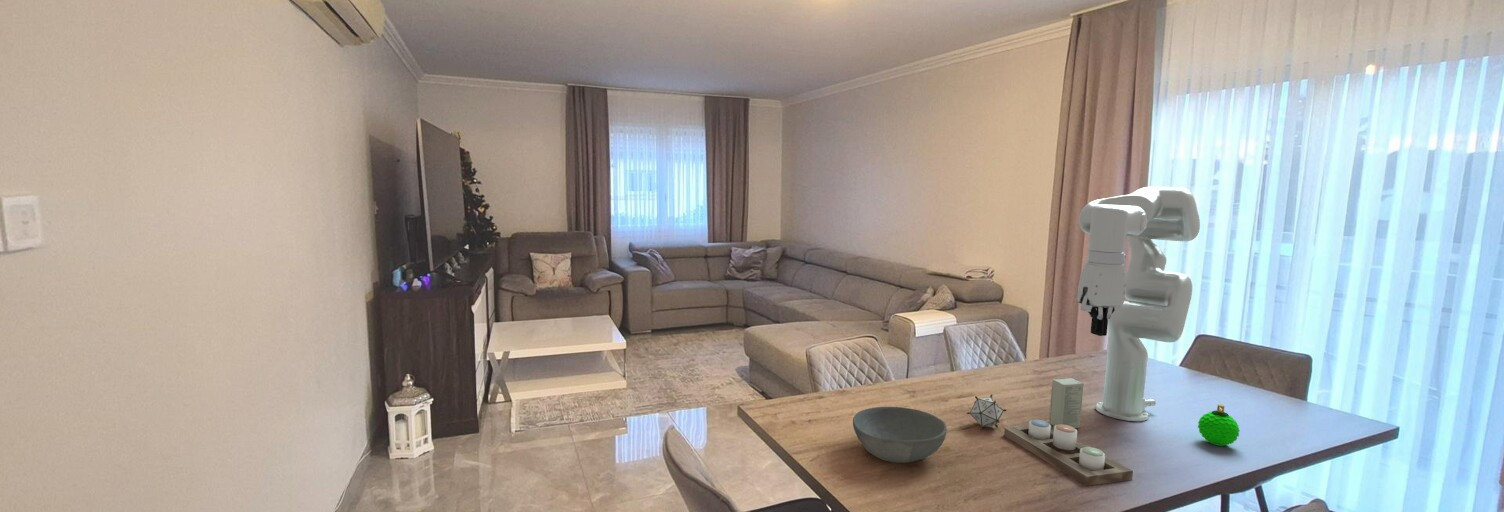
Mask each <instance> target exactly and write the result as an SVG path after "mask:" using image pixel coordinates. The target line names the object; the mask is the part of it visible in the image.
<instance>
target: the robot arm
mask: <svg viewBox="0 0 1504 512" xmlns="http://www.w3.org/2000/svg"><path fill="white" fill-rule="evenodd" d="M1078 225H1079V228H1080V230H1081V231H1083V233H1085V234H1087V235H1089V239H1088V249H1087V259H1086V263H1084V264H1083V267H1082V268H1081V269H1082V270H1081V273H1080V277H1079V281H1078V288H1077V294H1076V295H1077V296H1076V302H1077V303H1079V304H1081V306H1080V310H1081V311H1085V312H1087V313H1088V314H1089V317H1090V318H1091V323H1090V334H1092V335H1095V336H1099V337H1102V336H1103V337H1105V336H1107V338H1108V339H1107V340H1108V341H1107V351H1106V353H1107V355H1106V364H1105V373H1104V375H1105V376H1104V384H1103V395H1102V401H1099V402H1097V403H1096V404H1095V409H1096V411H1097V412H1098V413H1100V414H1103V415H1104V416H1107V417H1110V418H1113V419H1117V420H1122V421H1127V422H1129V421H1130V422H1144V421H1146V420H1148V419H1149V412H1148V411H1147V410H1146V408H1147V407H1154V406H1156V404H1157V403H1156V400H1155V399H1153V398H1147V399H1146V398H1145V389H1146V378H1147V371H1148V369H1147V368H1148V361H1149V354H1148V351H1147V349H1146V346H1145V344H1144V343H1143V342H1142V341H1141V339H1146V340H1150V341H1151V340H1152V341H1157V342H1163V343H1175V342H1178V341H1179V340H1180V339H1181V337H1182V335H1183V333H1184V329H1185V325H1186V320H1187V315H1188V313H1189V308H1190V304H1191V300H1192V296H1193V283H1192V279H1191V278H1190V277H1189V276H1188V275H1186V274H1185V273H1183V272H1182V273H1181V272H1176V271H1167V270H1165V268H1166V265H1167V257H1166V255H1165V254H1164V251H1162V249H1161V248H1160V247H1159V246H1158V245H1157V244H1156V243H1154V241H1153V240H1155V241H1156V240H1159V241H1171V242H1172V241H1173V242H1190V241H1193V240H1194V239H1196V238H1197V236H1198V235H1199V232H1200V227H1201V220H1200V215H1199V212H1198V207H1197V203H1196V199H1195V197H1194V194H1193V193H1192V192H1191V191H1190V190H1189V189H1187V188H1185V187H1178V186H1177V187H1173V186H1172V187H1170V186H1144V187H1141V188H1138V189H1137V190H1134V191H1133V192H1131V193H1129V194H1124V195H1117V196H1112V197H1107V198H1106V197H1105V198H1100V199H1095V200H1092V201H1090V202H1089V203H1087V204H1085V206H1083V208H1082V209H1081V211H1080V213H1079V217H1078ZM1127 241H1128V242H1127ZM1127 243H1128V245H1129V250H1130V260H1129V262H1128V263H1129V264H1128V266H1127V269H1126V266H1125V259H1126V245H1127ZM1125 298H1126V299H1127V300H1125Z"/></svg>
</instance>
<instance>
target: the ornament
mask: <svg viewBox="0 0 1504 512" xmlns="http://www.w3.org/2000/svg"><path fill="white" fill-rule="evenodd" d="M1197 428H1198V431H1199V433H1200V435H1201V437H1202V438H1203V439H1205V441H1206V442H1209V443H1210V444H1213V446H1214V445H1215V446H1219V447H1220V446H1221V447H1222V446H1226V447H1227V446H1228V445H1232V444H1234V442H1236V441H1237V440H1238V438H1239V436H1240V432H1241V431H1240V427H1239V424H1238V422H1237V421H1236V420H1235V419H1234V417H1232V416H1231V415H1229V413H1228V412H1225V405H1224V404H1217V409H1216V410H1212V411H1209V412H1207V413H1205V414H1203V415H1202V416H1200V418H1199V419H1198V425H1197Z"/></svg>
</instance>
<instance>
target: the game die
mask: <svg viewBox="0 0 1504 512" xmlns="http://www.w3.org/2000/svg"><path fill="white" fill-rule="evenodd" d="M974 397H975V398H974V399H976V400H975V401H974V402H973V403H974V404H973V406H972V407H971V410H970V412H966V415H971V417H973V419H974V420H975V421H976V422H977V423H978V425H979V426H980V430H981V431H982V430H983V429H984V428H985V427H990V426H991V427H992V426H995V428H999V425H998V423H1000V418H1001V416H1002V415H1003V412H1007V411H1008V410H1007V409H1005V408H1004V409H1003V408H1002V407H1001V406H1000V405H999V404H998V403H997V401H996V400H995V399H994V398H993V394H992V393H991V394H990V396H989V397H981V398H980V397H979V398H978V396H976V395H975V396H974ZM983 427H984V428H983Z"/></svg>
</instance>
